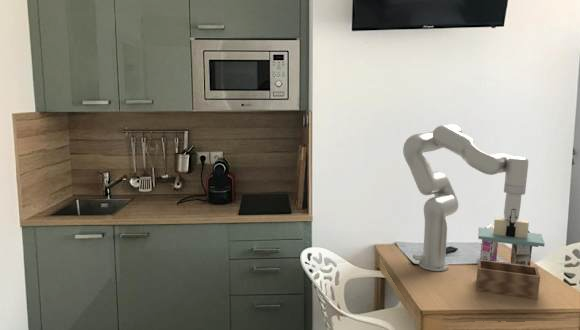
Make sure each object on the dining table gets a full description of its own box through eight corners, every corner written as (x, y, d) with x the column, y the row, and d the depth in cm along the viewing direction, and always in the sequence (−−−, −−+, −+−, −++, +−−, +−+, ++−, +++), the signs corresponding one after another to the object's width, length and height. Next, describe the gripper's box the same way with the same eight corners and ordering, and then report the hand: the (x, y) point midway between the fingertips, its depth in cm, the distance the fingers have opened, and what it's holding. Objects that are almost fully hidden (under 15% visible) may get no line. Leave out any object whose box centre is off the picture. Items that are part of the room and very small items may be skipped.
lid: (478, 241, 195) (479, 221, 193) (478, 232, 206) (479, 213, 204) (543, 249, 187) (546, 228, 185) (540, 239, 198) (542, 219, 196)
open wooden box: (476, 290, 198) (477, 268, 197) (476, 279, 209) (478, 259, 207) (537, 299, 191) (540, 277, 189) (534, 288, 201) (537, 266, 199)
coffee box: (530, 271, 218) (533, 235, 216) (514, 270, 220) (517, 234, 217) (525, 263, 227) (528, 229, 224) (509, 262, 229) (513, 228, 226)
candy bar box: (490, 266, 224) (494, 230, 221) (479, 263, 227) (482, 228, 224) (497, 258, 233) (500, 224, 230) (486, 256, 236) (489, 222, 233)
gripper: (503, 183, 201) (498, 227, 205) (505, 192, 186) (500, 239, 190) (523, 185, 199) (519, 230, 202) (527, 194, 184) (522, 242, 187)
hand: (510, 234), depth 196 cm, fingers closed on lid, 3 cm apart
